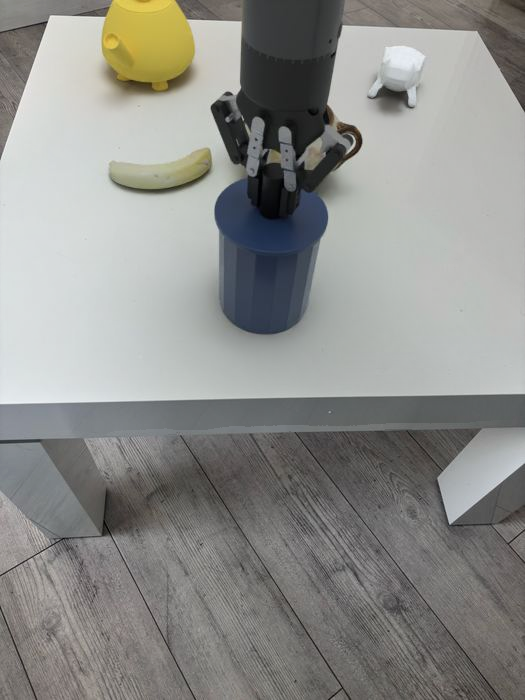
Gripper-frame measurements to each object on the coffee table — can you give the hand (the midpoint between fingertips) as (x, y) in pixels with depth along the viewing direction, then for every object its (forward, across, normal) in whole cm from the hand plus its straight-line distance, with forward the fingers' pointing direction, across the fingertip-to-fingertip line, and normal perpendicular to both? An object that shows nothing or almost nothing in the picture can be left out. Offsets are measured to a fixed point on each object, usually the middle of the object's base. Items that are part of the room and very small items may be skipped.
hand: (272, 207), depth 56 cm
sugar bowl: (+15, -8, +23) cm, 29 cm away
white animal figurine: (+15, -2, +54) cm, 56 cm away
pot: (+15, 0, 0) cm, 15 cm away
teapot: (+15, -41, +34) cm, 55 cm away
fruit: (+15, -24, +14) cm, 31 cm away
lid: (+1, 0, 0) cm, 1 cm away
